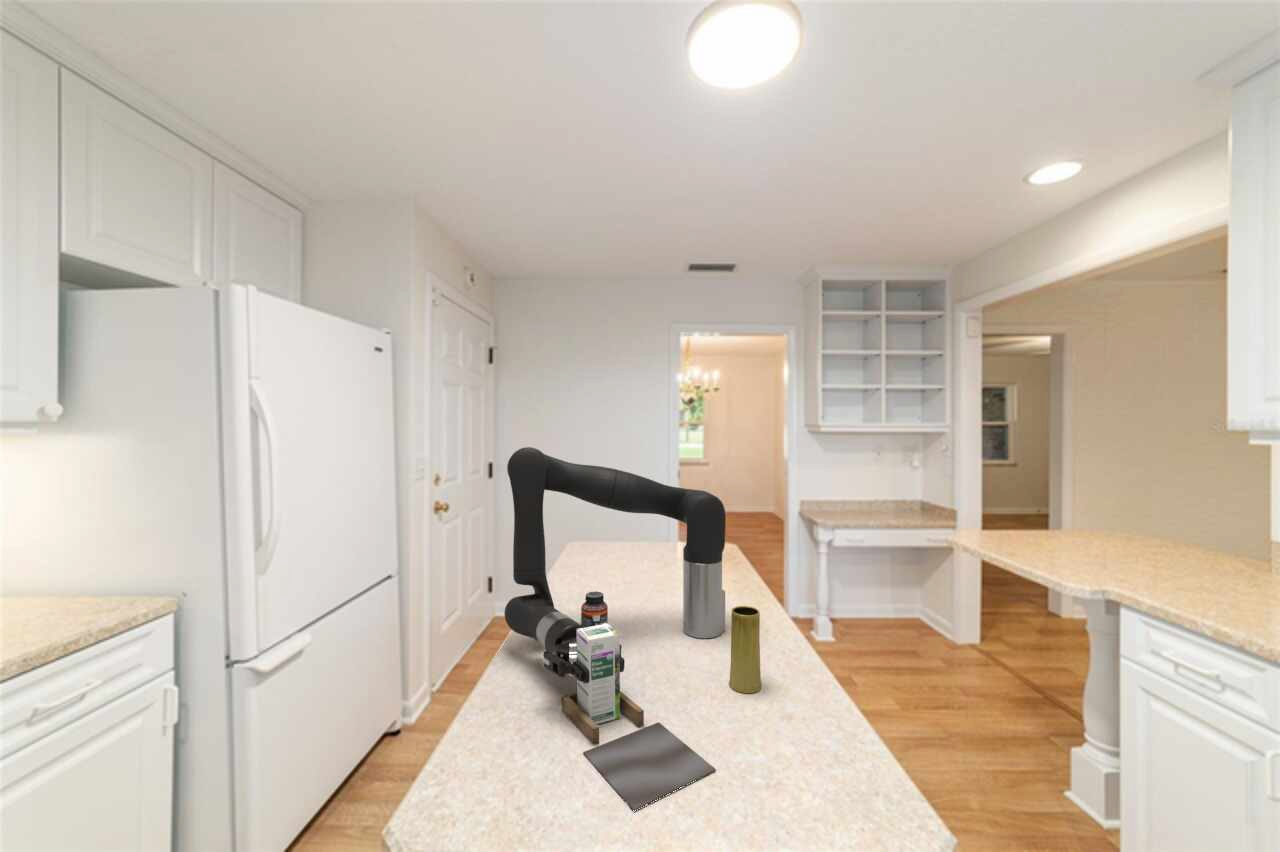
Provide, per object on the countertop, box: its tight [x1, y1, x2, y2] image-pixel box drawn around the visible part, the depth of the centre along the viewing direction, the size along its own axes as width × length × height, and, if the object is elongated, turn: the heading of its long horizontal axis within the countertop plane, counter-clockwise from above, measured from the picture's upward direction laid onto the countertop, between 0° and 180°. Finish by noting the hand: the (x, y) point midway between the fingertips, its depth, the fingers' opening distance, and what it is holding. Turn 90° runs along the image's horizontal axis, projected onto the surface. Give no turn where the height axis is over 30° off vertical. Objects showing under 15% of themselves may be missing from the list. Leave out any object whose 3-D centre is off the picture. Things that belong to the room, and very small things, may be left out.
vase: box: [728, 605, 763, 694], centre depth 98 cm, size 6×6×14 cm
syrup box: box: [576, 622, 621, 725], centre depth 89 cm, size 6×6×14 cm
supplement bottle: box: [580, 591, 609, 628], centre depth 117 cm, size 6×6×11 cm
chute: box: [561, 690, 717, 811], centre depth 81 cm, size 26×14×2 cm, turn 34°
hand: (605, 671), depth 87 cm, fingers closed on syrup box, 6 cm apart
